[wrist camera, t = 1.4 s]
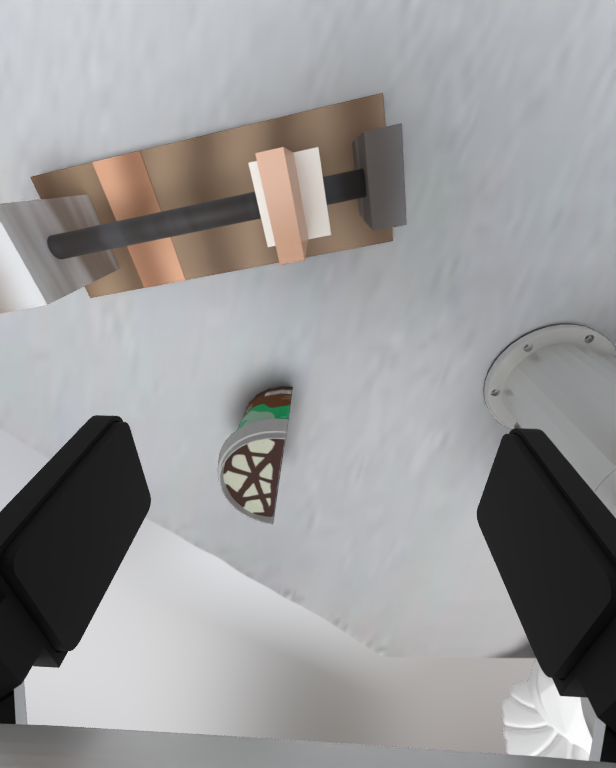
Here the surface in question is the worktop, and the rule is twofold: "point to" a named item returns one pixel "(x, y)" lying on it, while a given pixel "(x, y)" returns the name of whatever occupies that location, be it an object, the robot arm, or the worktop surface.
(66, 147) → the worktop surface
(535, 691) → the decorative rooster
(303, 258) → the sleeve
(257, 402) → the food container
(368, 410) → the worktop surface
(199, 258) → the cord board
